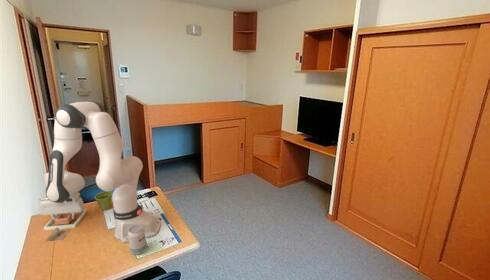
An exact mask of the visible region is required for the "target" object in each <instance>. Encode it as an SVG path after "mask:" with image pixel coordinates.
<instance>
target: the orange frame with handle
mask: <svg viewBox="0 0 490 280" xmlns="http://www.w3.org/2000/svg"><path fill="white" fill-rule="evenodd" d="M71 215H73V214H71V213H63V214H59V215H58V216H57V218H56V219H55V220H54V221H53V223H54V226H59V225H70V223H71V221H72V220H73V219H70V216H71Z"/></svg>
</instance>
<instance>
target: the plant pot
mask: <svg viewBox="0 0 490 280" xmlns="http://www.w3.org/2000/svg"><path fill="white" fill-rule="evenodd" d="M112 195H113V192H112V191H102V192H99V193H97V194H96V195H95V196H94V199H95V200H96V201H97V205H98V208H99V210H100V211H108V210H110V209H111V207H112Z"/></svg>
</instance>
